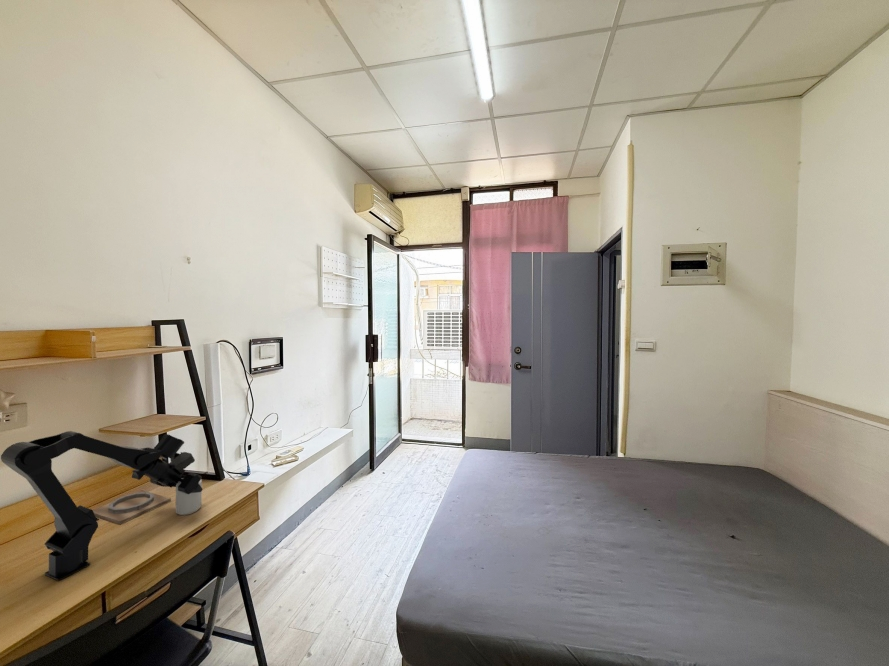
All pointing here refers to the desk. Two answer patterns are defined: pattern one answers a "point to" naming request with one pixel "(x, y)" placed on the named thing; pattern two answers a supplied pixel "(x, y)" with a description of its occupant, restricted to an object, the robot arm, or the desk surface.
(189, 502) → the can
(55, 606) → the desk surface
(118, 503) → the collar board
